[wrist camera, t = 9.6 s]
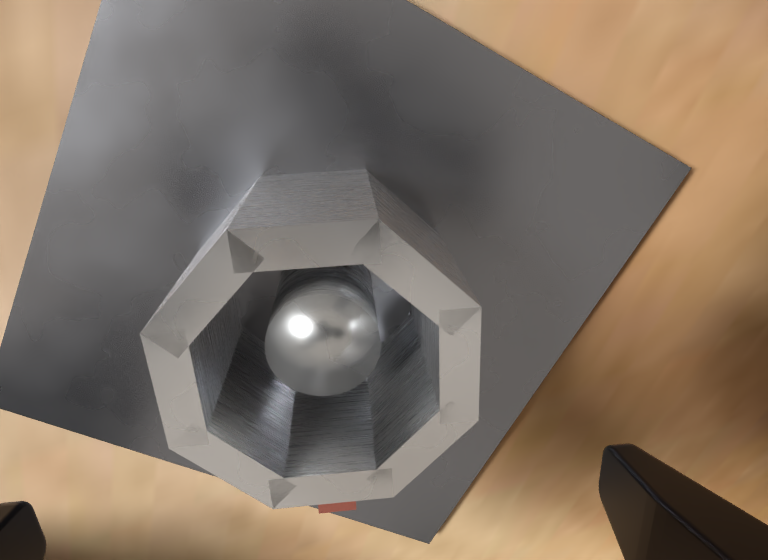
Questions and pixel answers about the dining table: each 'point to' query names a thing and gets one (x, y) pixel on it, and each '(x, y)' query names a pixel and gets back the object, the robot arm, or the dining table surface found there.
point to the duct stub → (305, 155)
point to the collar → (302, 411)
